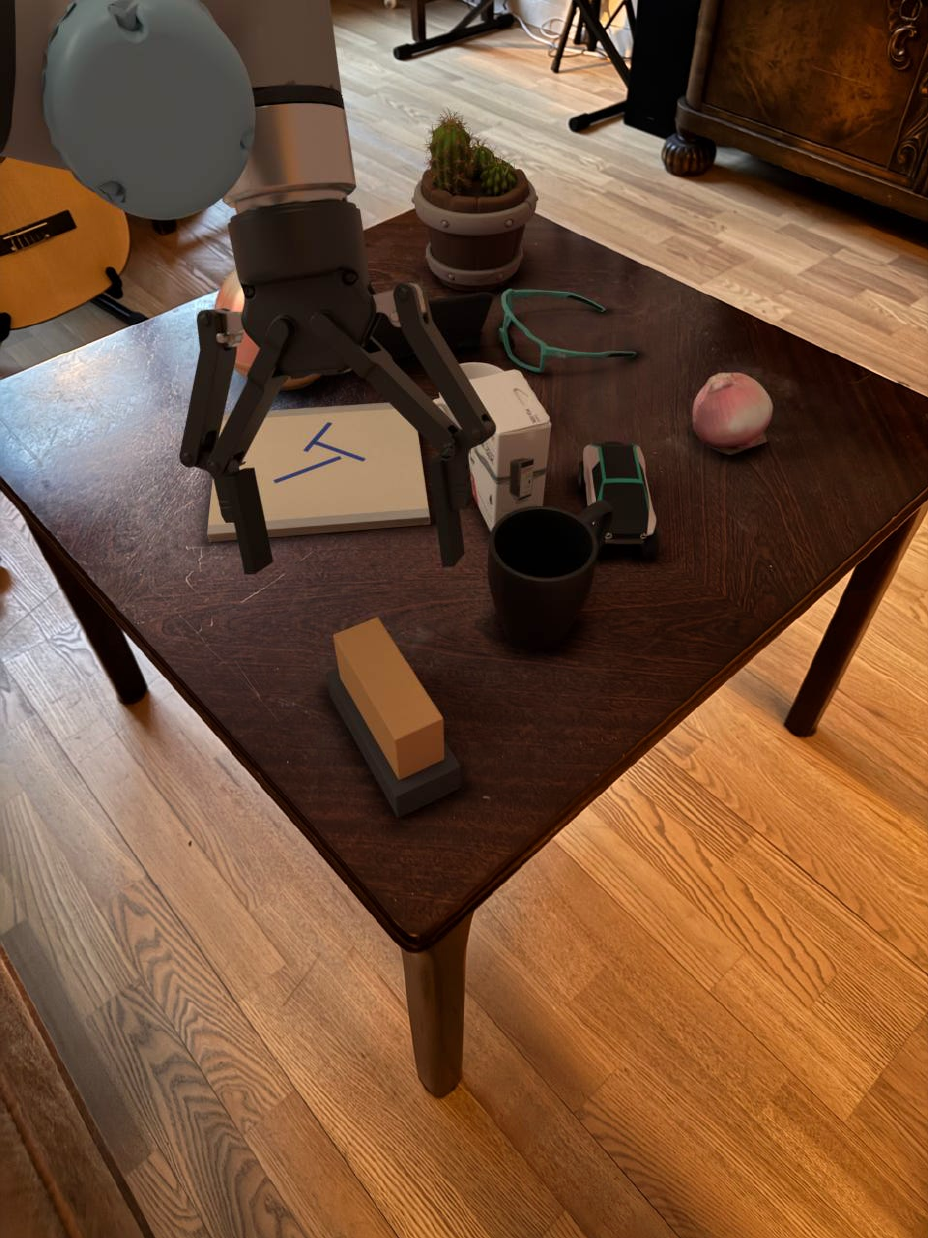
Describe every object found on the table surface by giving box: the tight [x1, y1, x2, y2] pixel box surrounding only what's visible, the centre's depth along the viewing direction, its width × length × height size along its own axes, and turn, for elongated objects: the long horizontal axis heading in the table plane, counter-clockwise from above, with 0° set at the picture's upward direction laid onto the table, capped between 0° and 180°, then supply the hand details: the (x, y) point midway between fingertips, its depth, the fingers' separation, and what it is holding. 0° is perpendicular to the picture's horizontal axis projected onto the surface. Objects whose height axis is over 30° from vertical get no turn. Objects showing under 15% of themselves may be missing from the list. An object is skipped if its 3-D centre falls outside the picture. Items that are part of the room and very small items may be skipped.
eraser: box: [325, 616, 462, 819], centre depth 61 cm, size 5×12×8 cm, turn 29°
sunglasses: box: [498, 288, 637, 373], centre depth 99 cm, size 14×15×5 cm
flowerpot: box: [410, 107, 539, 293], centre depth 103 cm, size 14×15×20 cm
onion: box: [692, 372, 774, 456], centre depth 86 cm, size 8×8×7 cm
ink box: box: [468, 368, 552, 532], centre depth 77 cm, size 9×5×12 cm, turn 18°
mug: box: [487, 500, 613, 651], centre depth 69 cm, size 8×12×10 cm
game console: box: [372, 291, 494, 360], centre depth 96 cm, size 16×14×9 cm
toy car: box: [577, 440, 659, 558], centre depth 79 cm, size 6×12×5 cm, turn 0°
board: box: [206, 402, 431, 543], centre depth 84 cm, size 20×18×1 cm
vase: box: [213, 267, 323, 392], centre depth 89 cm, size 14×14×18 cm
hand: (353, 565), depth 56 cm, fingers open, 13 cm apart
